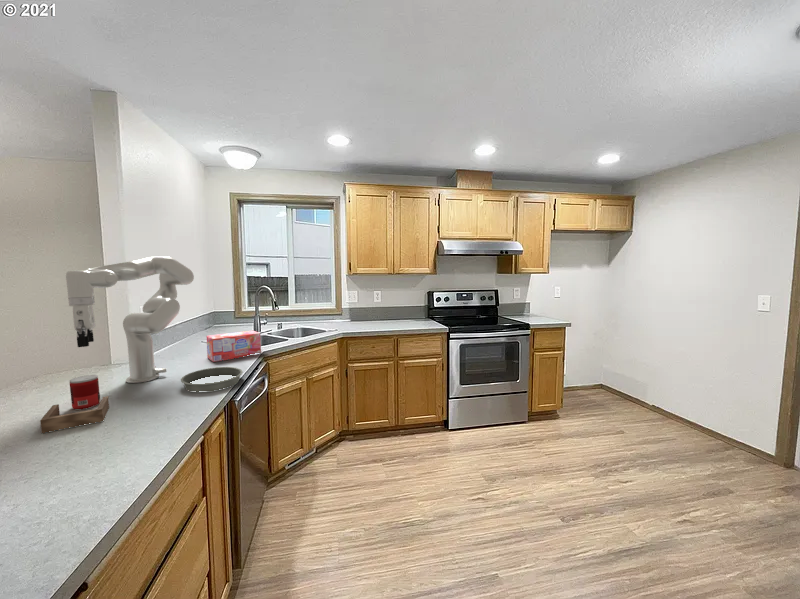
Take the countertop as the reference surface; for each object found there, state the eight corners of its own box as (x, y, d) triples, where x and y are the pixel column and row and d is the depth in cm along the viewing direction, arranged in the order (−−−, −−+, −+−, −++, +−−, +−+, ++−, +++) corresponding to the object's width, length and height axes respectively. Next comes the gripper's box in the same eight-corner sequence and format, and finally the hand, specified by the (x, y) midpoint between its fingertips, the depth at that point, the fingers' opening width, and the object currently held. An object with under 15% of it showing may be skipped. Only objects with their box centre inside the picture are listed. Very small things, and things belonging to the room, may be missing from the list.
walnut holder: (109, 407, 128) (108, 396, 128) (103, 421, 117) (102, 409, 116) (54, 417, 120) (52, 405, 119) (41, 433, 108) (40, 420, 108)
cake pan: (236, 391, 145) (236, 381, 145) (171, 397, 139) (171, 386, 139) (247, 373, 169) (247, 364, 168) (192, 377, 163) (192, 368, 163)
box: (254, 350, 214) (253, 329, 212) (261, 354, 205) (260, 332, 203) (206, 358, 196) (205, 335, 194) (212, 363, 186) (211, 338, 185)
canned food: (105, 403, 132) (102, 375, 131) (80, 411, 125) (77, 382, 124) (92, 400, 135) (89, 373, 134) (67, 408, 127) (64, 380, 126)
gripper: (89, 303, 129) (94, 347, 131) (98, 299, 143) (102, 339, 145) (62, 304, 125) (67, 350, 127) (74, 300, 139) (78, 341, 141)
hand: (86, 344), depth 136 cm, fingers open, 8 cm apart
